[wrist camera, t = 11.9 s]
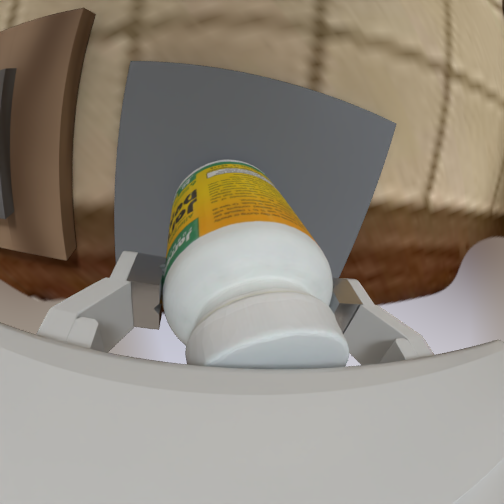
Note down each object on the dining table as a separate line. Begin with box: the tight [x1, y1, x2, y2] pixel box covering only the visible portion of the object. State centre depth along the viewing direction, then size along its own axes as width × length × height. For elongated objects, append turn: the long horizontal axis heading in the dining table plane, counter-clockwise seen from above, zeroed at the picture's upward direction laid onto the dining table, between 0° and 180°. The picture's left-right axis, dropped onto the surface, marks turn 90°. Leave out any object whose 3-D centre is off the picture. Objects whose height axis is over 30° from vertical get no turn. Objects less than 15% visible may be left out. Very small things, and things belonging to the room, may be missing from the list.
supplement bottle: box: [163, 160, 349, 369], centre depth 10 cm, size 5×5×10 cm
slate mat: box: [114, 61, 396, 278], centre depth 15 cm, size 14×14×1 cm
